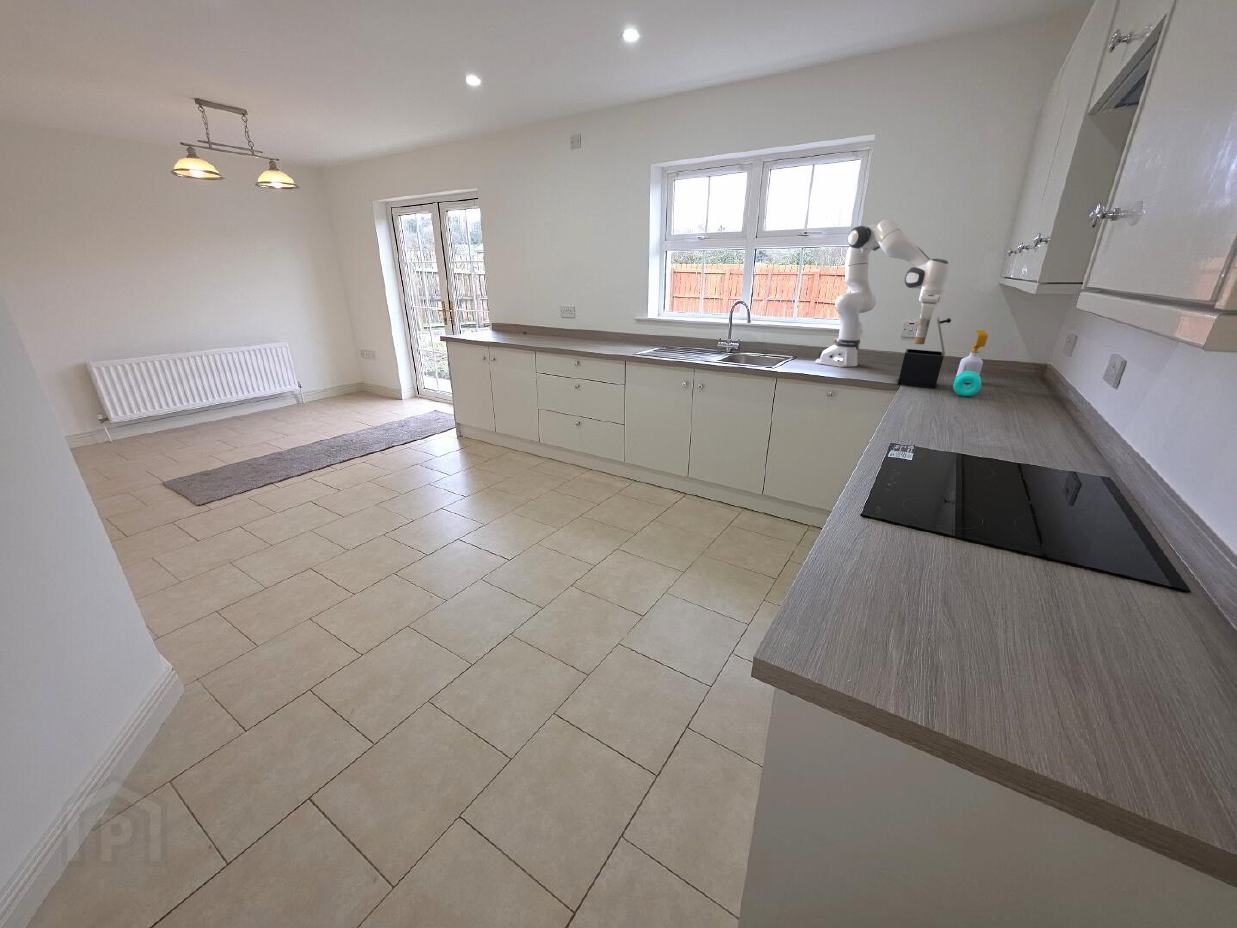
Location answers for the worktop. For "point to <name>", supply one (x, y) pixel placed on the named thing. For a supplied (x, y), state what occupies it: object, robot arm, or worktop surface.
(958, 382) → the donuts
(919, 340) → the sprinkles bottle
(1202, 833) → the worktop surface
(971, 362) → the soap bottle
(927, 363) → the black box
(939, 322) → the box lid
